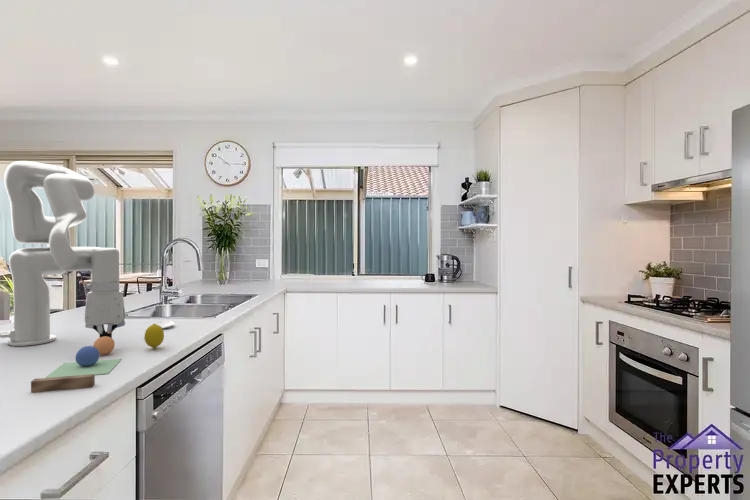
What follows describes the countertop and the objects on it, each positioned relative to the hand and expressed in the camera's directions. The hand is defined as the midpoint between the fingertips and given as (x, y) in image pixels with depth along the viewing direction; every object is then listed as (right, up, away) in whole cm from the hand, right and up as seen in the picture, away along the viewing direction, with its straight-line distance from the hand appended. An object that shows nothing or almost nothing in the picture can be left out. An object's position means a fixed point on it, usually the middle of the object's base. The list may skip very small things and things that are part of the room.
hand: (105, 345), depth 134 cm
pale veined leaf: (+1, -1, +35) cm, 35 cm away
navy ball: (+6, +1, -17) cm, 18 cm away
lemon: (+14, -2, +3) cm, 14 cm away
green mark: (+6, -2, -19) cm, 20 cm away
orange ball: (+3, +1, -5) cm, 6 cm away
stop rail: (+12, -2, -34) cm, 36 cm away
